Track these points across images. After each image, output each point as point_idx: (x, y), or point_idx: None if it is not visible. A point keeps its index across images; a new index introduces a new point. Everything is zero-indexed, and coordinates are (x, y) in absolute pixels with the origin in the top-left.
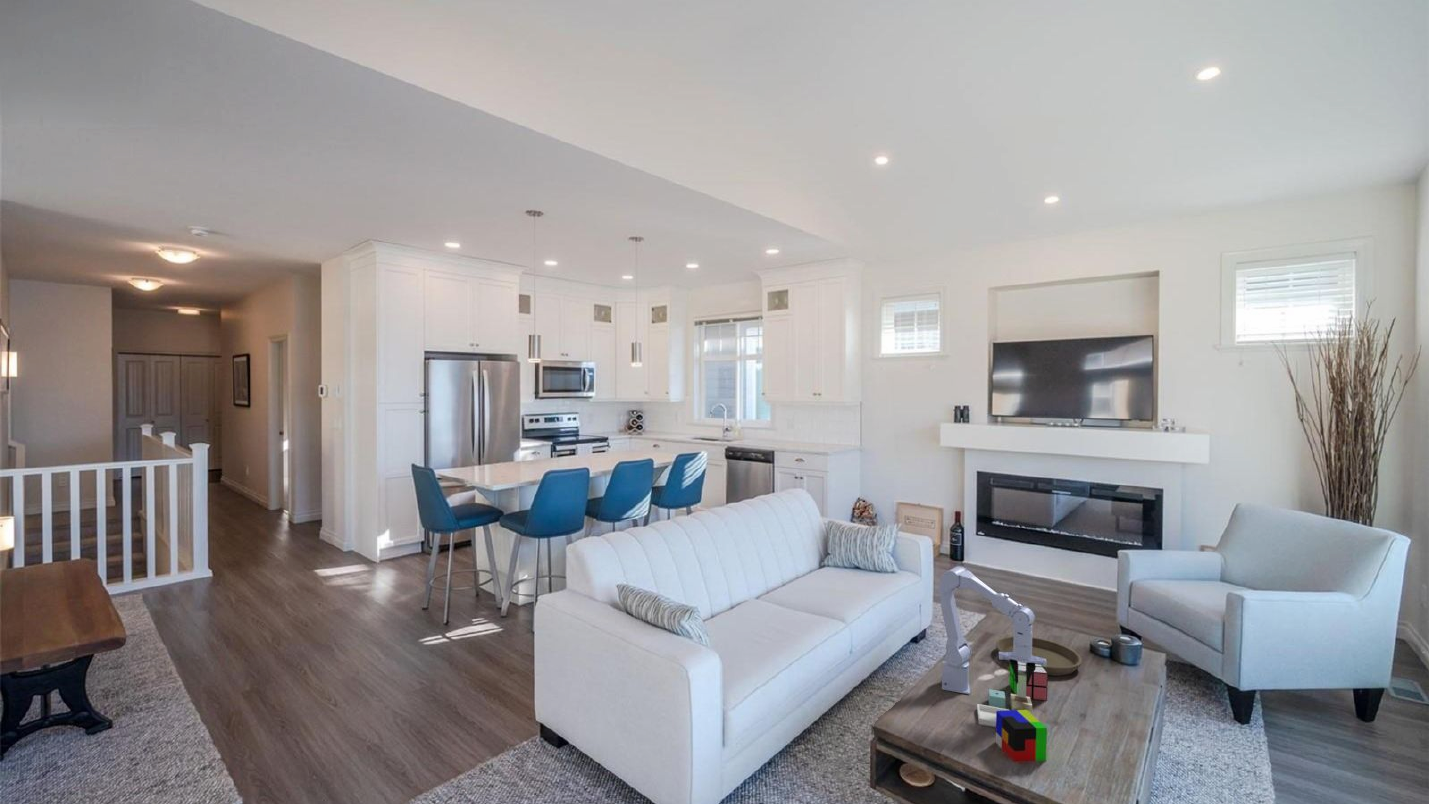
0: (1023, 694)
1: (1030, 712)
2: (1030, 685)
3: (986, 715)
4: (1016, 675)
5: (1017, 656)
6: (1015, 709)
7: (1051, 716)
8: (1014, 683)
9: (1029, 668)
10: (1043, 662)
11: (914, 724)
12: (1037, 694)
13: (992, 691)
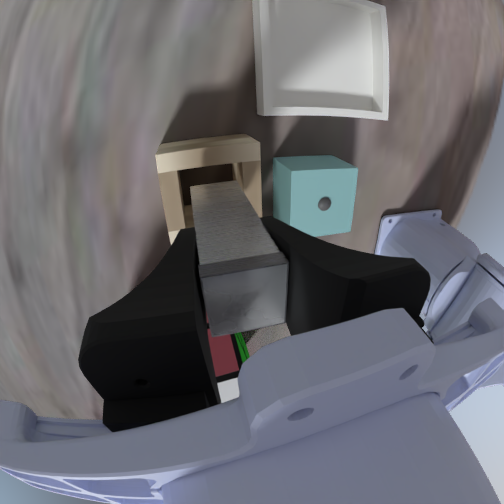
0: (205, 189)
1: (165, 146)
2: None
3: (351, 66)
4: (296, 238)
5: (449, 420)
6: (236, 137)
7: (87, 200)
8: (238, 334)
9: (166, 311)
10: (10, 446)
11: (483, 12)
12: None
13: (339, 216)
